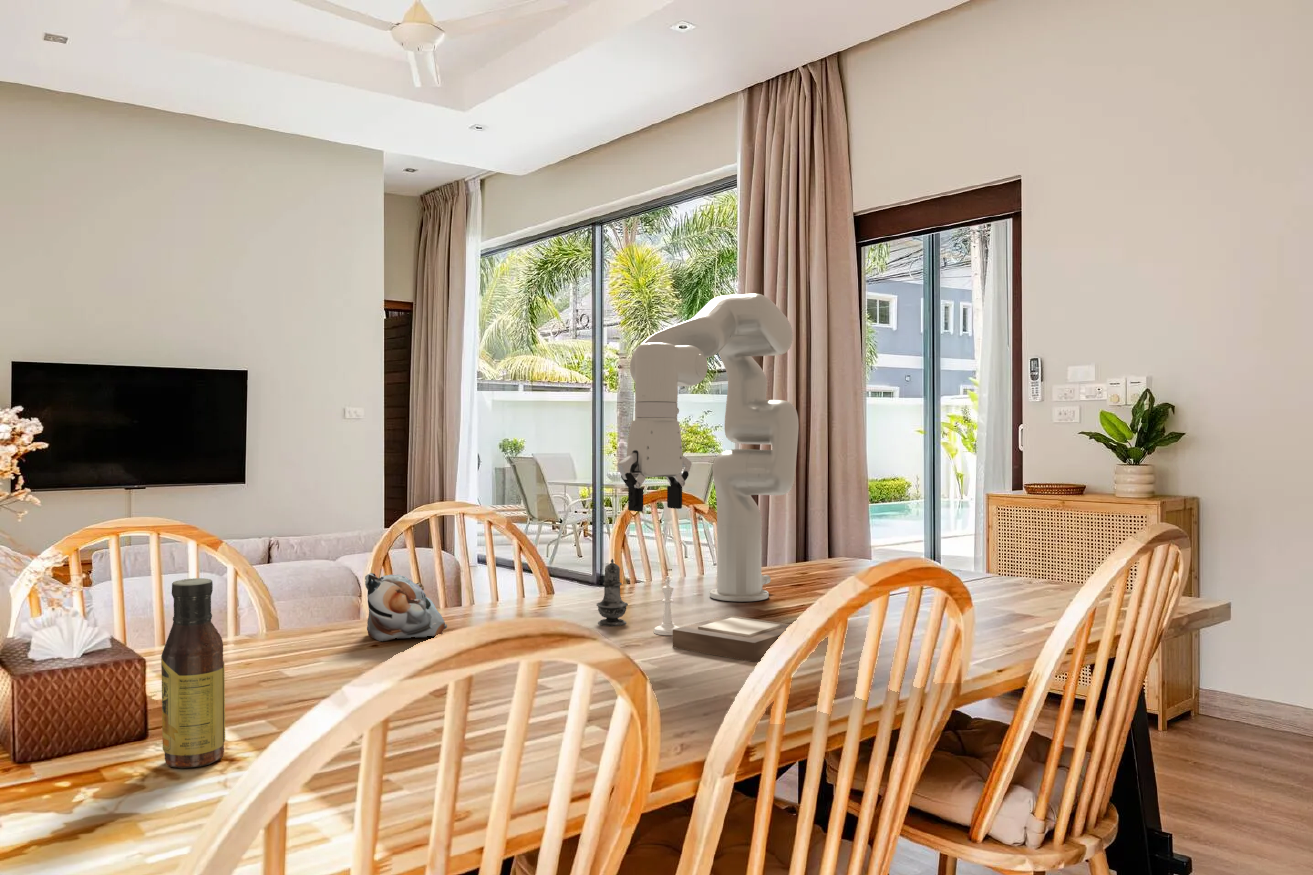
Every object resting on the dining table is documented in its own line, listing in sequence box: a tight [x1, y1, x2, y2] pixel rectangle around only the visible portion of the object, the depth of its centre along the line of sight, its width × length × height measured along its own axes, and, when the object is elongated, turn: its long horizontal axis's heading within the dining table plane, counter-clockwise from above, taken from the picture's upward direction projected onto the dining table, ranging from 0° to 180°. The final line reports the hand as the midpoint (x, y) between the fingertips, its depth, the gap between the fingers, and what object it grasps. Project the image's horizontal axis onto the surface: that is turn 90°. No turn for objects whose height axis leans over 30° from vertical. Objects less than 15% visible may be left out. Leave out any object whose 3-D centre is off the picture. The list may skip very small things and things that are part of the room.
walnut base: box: [672, 614, 791, 663], centre depth 166 cm, size 16×16×3 cm
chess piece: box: [653, 575, 680, 636], centre depth 177 cm, size 5×5×10 cm
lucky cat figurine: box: [364, 572, 448, 642], centre depth 171 cm, size 15×12×14 cm
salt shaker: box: [595, 558, 629, 627], centre depth 185 cm, size 6×6×12 cm
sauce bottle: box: [160, 577, 226, 769], centre depth 109 cm, size 6×6×20 cm
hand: (655, 509), depth 176 cm, fingers open, 9 cm apart
